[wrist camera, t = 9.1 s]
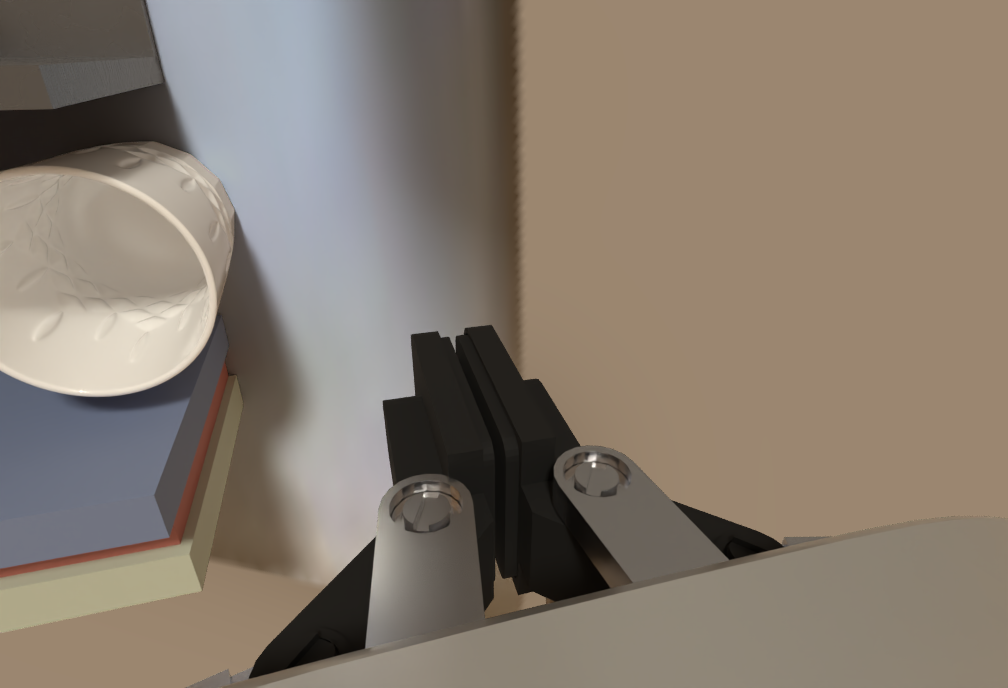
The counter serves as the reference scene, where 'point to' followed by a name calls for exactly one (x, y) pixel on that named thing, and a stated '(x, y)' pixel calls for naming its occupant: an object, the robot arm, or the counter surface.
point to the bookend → (73, 51)
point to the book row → (112, 491)
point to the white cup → (110, 267)
